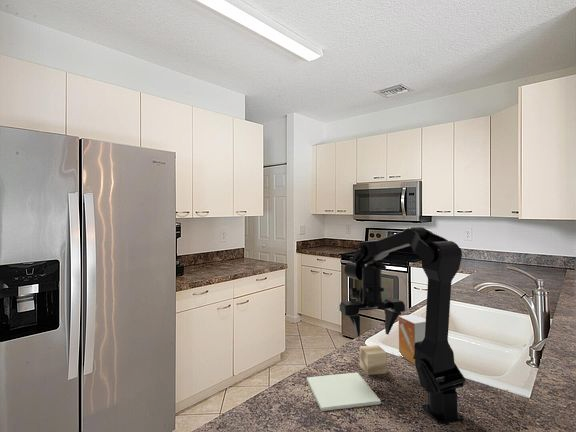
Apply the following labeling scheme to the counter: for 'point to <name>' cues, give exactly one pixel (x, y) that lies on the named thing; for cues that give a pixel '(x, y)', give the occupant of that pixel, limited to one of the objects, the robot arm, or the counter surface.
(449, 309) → the robot arm
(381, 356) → the maple cube
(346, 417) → the counter surface
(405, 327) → the small box
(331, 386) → the sage mat
